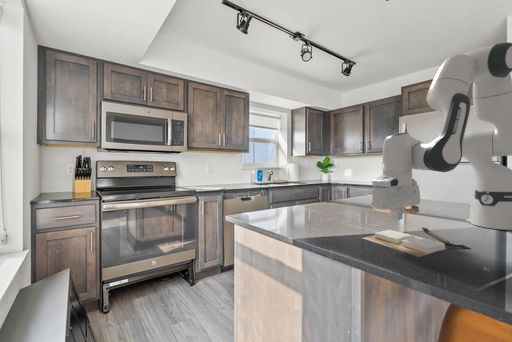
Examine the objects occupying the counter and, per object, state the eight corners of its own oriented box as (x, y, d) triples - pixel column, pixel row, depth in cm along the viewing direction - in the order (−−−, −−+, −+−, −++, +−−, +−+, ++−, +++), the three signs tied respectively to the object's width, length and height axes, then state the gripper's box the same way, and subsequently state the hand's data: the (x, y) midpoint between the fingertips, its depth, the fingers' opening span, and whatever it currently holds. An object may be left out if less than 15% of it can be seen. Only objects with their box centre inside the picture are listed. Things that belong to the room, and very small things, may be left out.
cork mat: (396, 231, 94) (396, 230, 94) (456, 247, 76) (456, 246, 76) (361, 239, 87) (361, 237, 87) (419, 258, 69) (419, 256, 69)
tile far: (390, 229, 90) (374, 232, 87) (411, 235, 83) (395, 238, 80) (390, 234, 90) (374, 237, 87) (411, 240, 83) (395, 244, 80)
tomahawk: (471, 251, 73) (472, 247, 73) (445, 247, 75) (446, 244, 75) (438, 232, 94) (438, 229, 94) (418, 229, 95) (419, 226, 95)
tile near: (417, 236, 81) (401, 240, 78) (444, 243, 74) (428, 248, 70) (417, 242, 81) (401, 245, 78) (444, 249, 74) (428, 254, 70)
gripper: (407, 178, 93) (408, 214, 93) (368, 181, 84) (369, 221, 85) (425, 178, 87) (425, 217, 87) (385, 182, 78) (385, 225, 79)
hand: (397, 219), depth 86 cm, fingers closed
